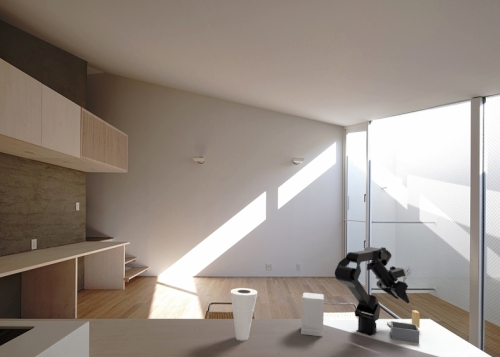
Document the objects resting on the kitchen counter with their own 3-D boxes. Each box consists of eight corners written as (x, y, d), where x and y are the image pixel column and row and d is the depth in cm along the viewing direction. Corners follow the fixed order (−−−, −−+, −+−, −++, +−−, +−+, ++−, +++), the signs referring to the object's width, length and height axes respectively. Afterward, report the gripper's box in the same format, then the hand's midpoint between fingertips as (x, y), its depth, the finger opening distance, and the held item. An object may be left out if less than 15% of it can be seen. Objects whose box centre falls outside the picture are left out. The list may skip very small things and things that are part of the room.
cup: (259, 336, 140) (261, 290, 141) (248, 346, 131) (250, 296, 132) (236, 331, 145) (238, 286, 146) (223, 340, 135) (225, 292, 136)
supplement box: (323, 337, 142) (324, 299, 143) (300, 334, 144) (301, 297, 145) (322, 329, 151) (324, 293, 152) (301, 326, 153) (303, 291, 154)
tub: (391, 339, 142) (392, 327, 143) (390, 333, 150) (390, 321, 150) (419, 344, 139) (419, 331, 139) (416, 336, 147) (416, 324, 147)
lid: (394, 332, 151) (394, 313, 152) (386, 325, 160) (387, 307, 160) (422, 333, 151) (422, 314, 152) (413, 326, 160) (413, 308, 160)
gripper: (404, 262, 149) (428, 292, 148) (384, 259, 167) (405, 285, 166) (385, 279, 147) (409, 309, 146) (367, 273, 166) (388, 300, 165)
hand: (403, 300), depth 156 cm, fingers open, 9 cm apart
